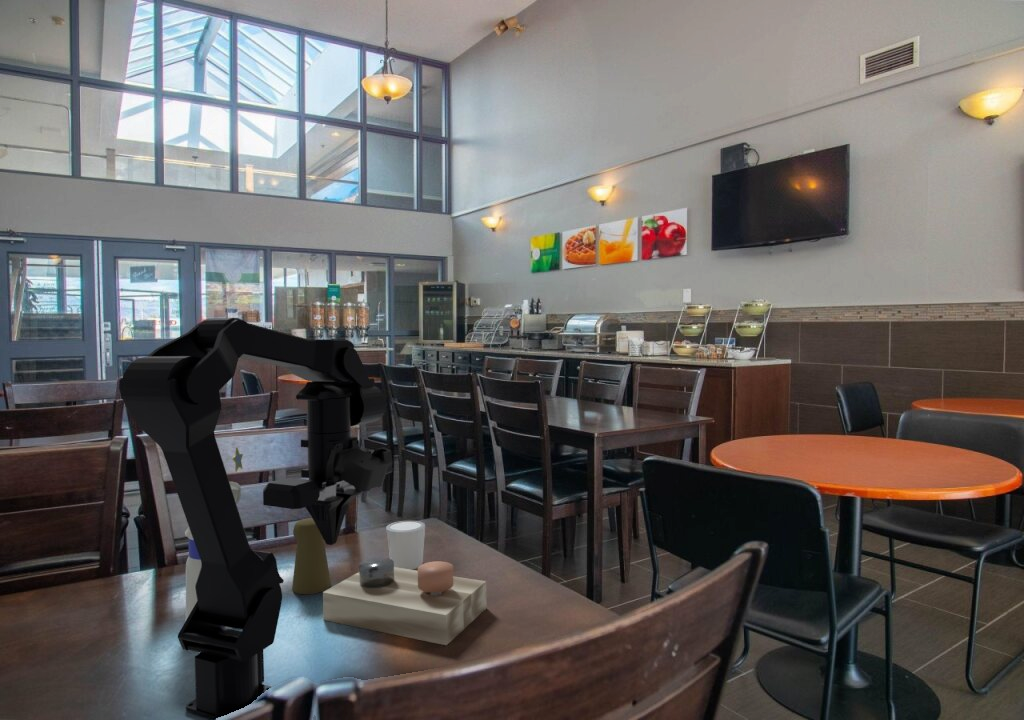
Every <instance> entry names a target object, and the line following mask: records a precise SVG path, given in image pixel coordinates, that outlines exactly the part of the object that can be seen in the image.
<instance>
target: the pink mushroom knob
mask: <svg viewBox="0 0 1024 720" xmlns="http://www.w3.org/2000/svg"><path fill="white" fill-rule="evenodd" d="M417 571H418V588H419V589H420V590H422V591H425V592H430V595H434V596H440V595H441V594H442V591H445V590H448V589H450V588H452V587H453V576H454V565H453V564H452V563H450V562H447V561H440V560H439V561H438V560H436V561H429V562H425V563H423V564H422V565H420V566H419V567H418V568H417Z"/></svg>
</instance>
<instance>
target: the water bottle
mask: <svg viewBox="0 0 1024 720" xmlns="http://www.w3.org/2000/svg"><path fill="white" fill-rule="evenodd" d="M234 452H235V454H234V456H233V457H231V460H232V461H233V463H235V464H234V466H235V467H234V469H235V470H234V471H235V472H238V470H239V469H241V470H242V469H243V464H242V459H243V456H244V453H240V451H239V449H238V447H235V451H234ZM229 483H230V486H231V489H232V492H233V495H234V499H235V502H236V505H237V504H239V502H240V499H241V496H242V493H241V492H242V488H241V486H240V484H239V483H238V482H235V481H230V480H229ZM179 504H180V505H181V502H180V501H179ZM184 535H185V537H187V538H188V541H187V542H188V557H187V559H186V563H185V616H184V618H185V621H186V620H187V618H188V616H189V615H190V613H191V611H192V609H193V608H194V606H195V604H196V602H197V595H196V589H195V585H196V581H197V578H198V575H199V572H200V569H201V566H202V564H201V560H200V557H199V554H198V551H197V548H196V545H195V542H194V540H193V537H192V534H191V531H190V528H189V525H188V526H187V528H186V530H185V531H184ZM185 621H184V622H185ZM221 628H226V629H232V630H234V628H231V627H226V626H221Z"/></svg>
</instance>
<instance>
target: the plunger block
mask: <svg viewBox="0 0 1024 720" xmlns="http://www.w3.org/2000/svg"><path fill="white" fill-rule="evenodd" d="M487 605H488V604H487V581H486V580H479V579H474V578H467V577H461V576H455V575H453V587H452V588H450V589H448V590H445V591H442V594H441V595H440V596H434V595H430V592H425V591H422V590H420V589H419V588H418V570H417V569H412V570H410V569H403V568H397V567H394V581H393V582H392V583H390V584H388V585H385V586H380V587H366V586H363V585H361V584H360V574H359V571H358V572H357V573H354V574H352V575H350V576H349V577H347V578H346V579H343V580H342V581H341V582H339V583H337V584H335V585H333V586H332V587H331V586H330V587H329V588H328V589H326V590H324V591H322V610H323V613H322V614H323V616H322V617H323V619H322V620H323V621H328V622H331V623H336V624H341V625H347V626H351V627H354V628H355V627H356V628H361V629H366V630H370V631H375V632H379V633H385V634H390V635H395V636H399V637H405V638H409V639H414V640H418V641H419V640H420V641H424V642H427V643H433V644H438V645H442V646H448V644H450V643H451V642H452V641H453V640H454V639H455V638H456V637H457V636H458V635H460V634H461V633H462V632H463V631H464V630H465V629H466V628H467V627H468V626H469V625H470V624H471V623H473V622H474V621H475V620H476V619H477V618H478V617H479V616H480V615H481V614H482V613H483V612H484V611H486V609H487Z"/></svg>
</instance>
